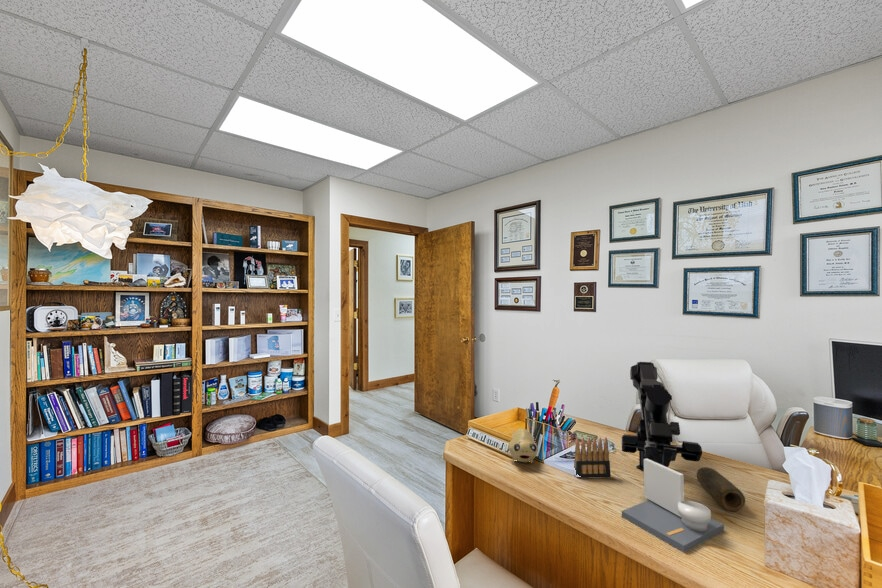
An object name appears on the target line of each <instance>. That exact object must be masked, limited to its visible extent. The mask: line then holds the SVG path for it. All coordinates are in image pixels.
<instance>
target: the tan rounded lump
mask: <svg viewBox="0 0 882 588" xmlns="http://www.w3.org/2000/svg"><path fill="white" fill-rule="evenodd" d="M511 436H512V437H513V439H512V440H511V441H510V442H509V441H508V443H509V444H508V443H507V444H508V445H507V448H508V451H509V453H510V455H511V456H512V458H513V459H514V460H517V461H518V462H521V463H529V461H530V462H533V463H534V459H535V458H536V456H537V454H538V452H539V447H538V444H537V442H536V440H535V438H534V436H533V435H532V434H531V433H530V431H529V430H528V429H525V428H518V429H516V430H515V431H514V432H513V433H512V435H511ZM532 436H533V437H532ZM533 438H534V439H533ZM534 440H535V441H534ZM535 442H536V443H535ZM536 444H537V445H536ZM514 460H513V461H514Z"/></svg>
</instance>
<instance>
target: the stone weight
mask: <svg viewBox="0 0 882 588" xmlns="http://www.w3.org/2000/svg"><path fill="white" fill-rule="evenodd" d="M695 475H696V481H697V482H698V484H699V485H700V486H701V487H702V488H703V489H704V491H705V492H707V494H708V495H709V496H710V497H711V498H712V499H713V500H714V501H715V502H716V503H717V504H719V505H720V506H721V507H722V508H724V509H726V510H728V511H731V512H737V511H740V510H742V508H744V506H745V504H746V497H745V495H744V493H743V492H742V491H741V490H740V489H739V488H738V487H737V486H735V484H733V483H732V482H731V481H729V479H727V478H726V477H725V476H723V475H722V474H721V473H720V472H718V471H717V470H716V469H714V468H712V467H707V466H704V467H700V468H698V469H697V470H696V474H695Z"/></svg>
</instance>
